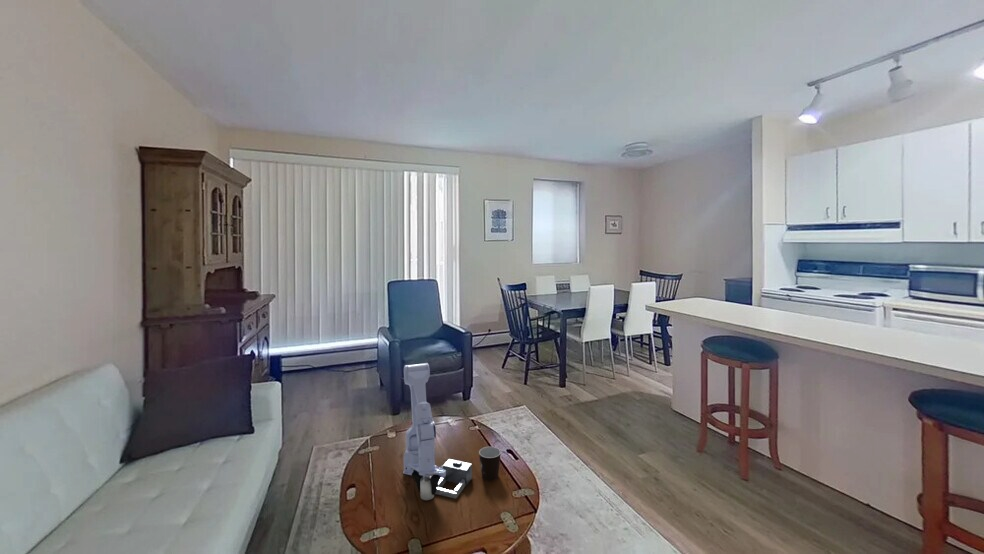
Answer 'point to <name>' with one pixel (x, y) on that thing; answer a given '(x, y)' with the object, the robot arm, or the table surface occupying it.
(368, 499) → the table surface
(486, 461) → the coffee mug
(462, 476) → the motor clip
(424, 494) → the white bottle
